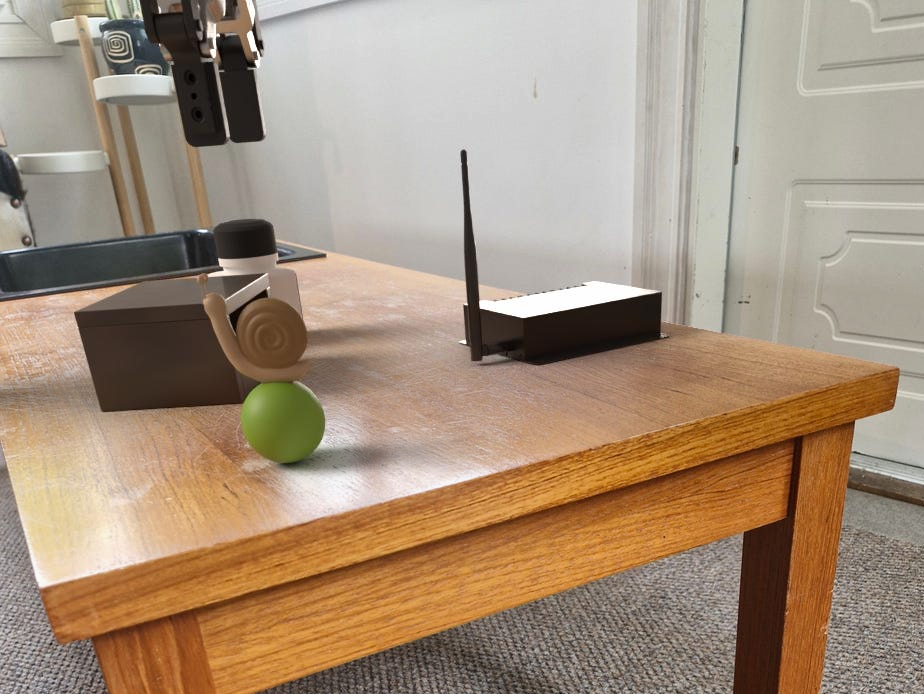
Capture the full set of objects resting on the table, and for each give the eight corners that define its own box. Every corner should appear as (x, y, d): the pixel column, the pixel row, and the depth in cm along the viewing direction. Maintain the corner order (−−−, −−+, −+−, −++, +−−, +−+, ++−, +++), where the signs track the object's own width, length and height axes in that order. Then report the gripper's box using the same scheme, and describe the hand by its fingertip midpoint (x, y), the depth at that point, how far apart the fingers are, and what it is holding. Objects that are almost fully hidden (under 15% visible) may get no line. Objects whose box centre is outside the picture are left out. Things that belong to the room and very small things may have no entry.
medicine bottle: (307, 341, 95) (288, 217, 89) (244, 353, 92) (220, 225, 86) (281, 332, 101) (261, 215, 95) (220, 343, 97) (195, 222, 91)
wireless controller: (584, 317, 97) (583, 136, 88) (672, 336, 86) (681, 131, 78) (421, 349, 88) (403, 151, 80) (497, 373, 78) (485, 148, 69)
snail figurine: (246, 451, 63) (210, 268, 57) (337, 446, 63) (309, 261, 57) (225, 477, 58) (182, 281, 52) (322, 472, 58) (291, 274, 52)
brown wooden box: (101, 411, 75) (73, 311, 71) (163, 366, 89) (143, 281, 85) (241, 403, 75) (221, 302, 71) (282, 359, 88) (267, 272, 84)
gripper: (137, -189, 49) (201, 146, 58) (16, -292, 37) (120, 152, 45) (271, -201, 49) (317, 137, 57) (194, -310, 37) (266, 142, 45)
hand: (230, 144), depth 51 cm, fingers open, 8 cm apart
